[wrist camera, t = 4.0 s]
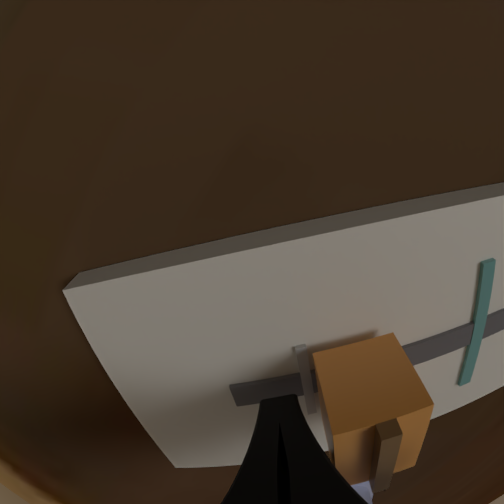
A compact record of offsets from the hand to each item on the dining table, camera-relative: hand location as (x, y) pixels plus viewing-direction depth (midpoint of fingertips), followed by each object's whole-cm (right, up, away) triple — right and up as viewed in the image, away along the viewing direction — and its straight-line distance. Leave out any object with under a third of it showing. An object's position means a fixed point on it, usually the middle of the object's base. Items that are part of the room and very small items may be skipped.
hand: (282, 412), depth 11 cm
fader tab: (+3, +1, 0) cm, 3 cm away
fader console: (+7, +3, +2) cm, 8 cm away
